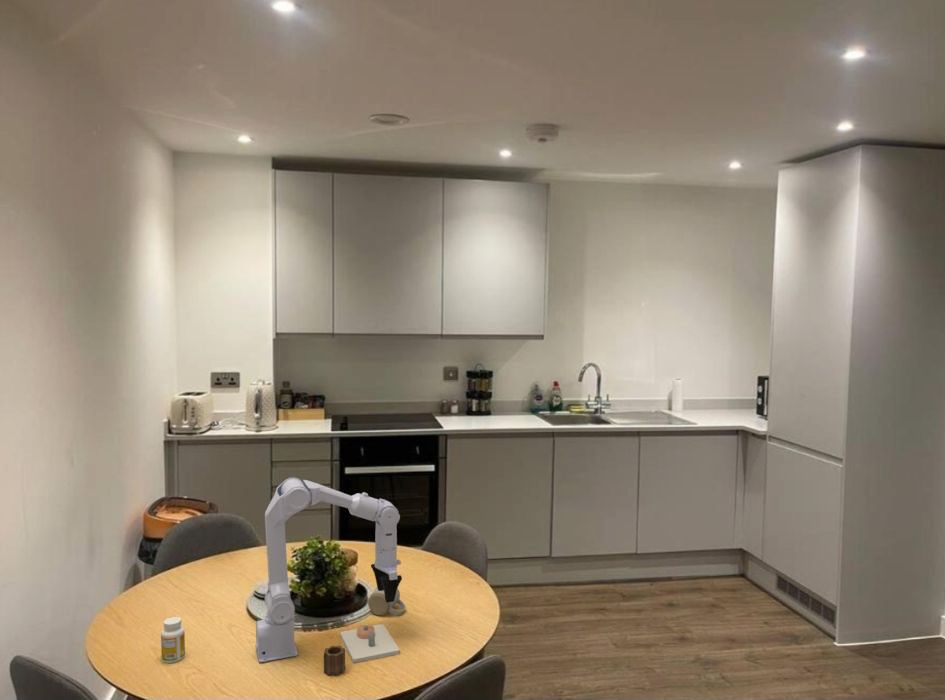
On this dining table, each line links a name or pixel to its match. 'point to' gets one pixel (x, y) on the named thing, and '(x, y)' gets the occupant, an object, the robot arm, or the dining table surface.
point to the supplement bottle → (172, 640)
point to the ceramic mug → (384, 603)
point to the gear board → (363, 648)
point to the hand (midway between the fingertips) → (385, 595)
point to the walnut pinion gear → (334, 660)
